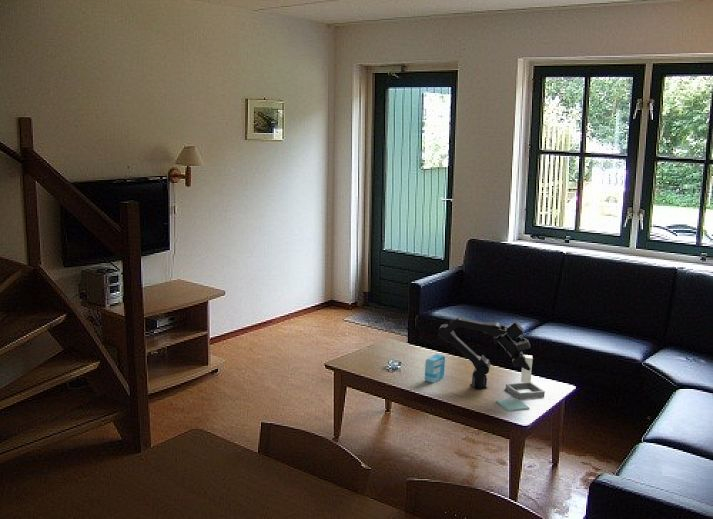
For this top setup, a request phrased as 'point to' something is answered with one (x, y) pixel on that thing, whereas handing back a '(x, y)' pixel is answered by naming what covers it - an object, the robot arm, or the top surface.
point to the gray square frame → (537, 392)
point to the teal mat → (512, 404)
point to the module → (527, 373)
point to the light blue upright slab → (434, 368)
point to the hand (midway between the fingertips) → (529, 368)
